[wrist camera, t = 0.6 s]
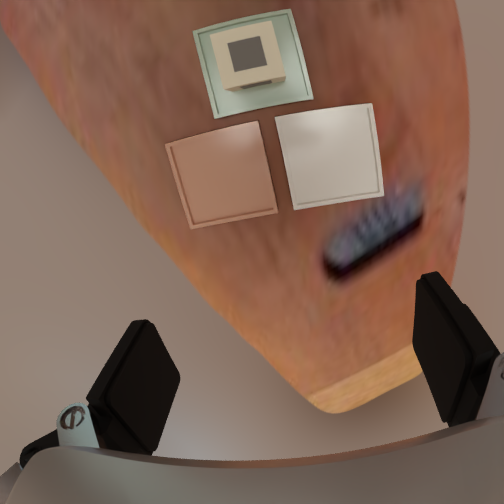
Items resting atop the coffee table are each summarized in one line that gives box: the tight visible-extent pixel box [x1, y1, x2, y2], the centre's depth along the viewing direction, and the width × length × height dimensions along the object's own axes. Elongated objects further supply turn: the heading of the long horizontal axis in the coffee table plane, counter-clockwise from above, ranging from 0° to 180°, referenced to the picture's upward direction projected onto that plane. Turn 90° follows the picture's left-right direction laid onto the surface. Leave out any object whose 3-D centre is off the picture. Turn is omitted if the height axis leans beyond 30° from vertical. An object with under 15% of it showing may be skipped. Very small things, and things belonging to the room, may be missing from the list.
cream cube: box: [210, 21, 286, 92], centre depth 23 cm, size 5×5×5 cm
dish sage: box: [192, 9, 314, 119], centre depth 25 cm, size 9×9×1 cm
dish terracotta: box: [165, 120, 278, 229], centre depth 30 cm, size 9×9×1 cm
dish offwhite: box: [275, 103, 384, 210], centre depth 28 cm, size 9×9×1 cm
